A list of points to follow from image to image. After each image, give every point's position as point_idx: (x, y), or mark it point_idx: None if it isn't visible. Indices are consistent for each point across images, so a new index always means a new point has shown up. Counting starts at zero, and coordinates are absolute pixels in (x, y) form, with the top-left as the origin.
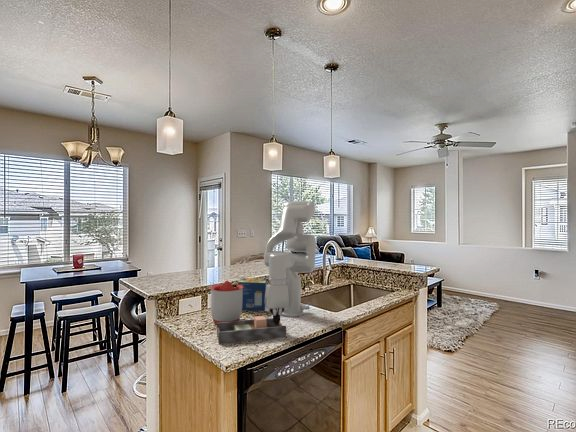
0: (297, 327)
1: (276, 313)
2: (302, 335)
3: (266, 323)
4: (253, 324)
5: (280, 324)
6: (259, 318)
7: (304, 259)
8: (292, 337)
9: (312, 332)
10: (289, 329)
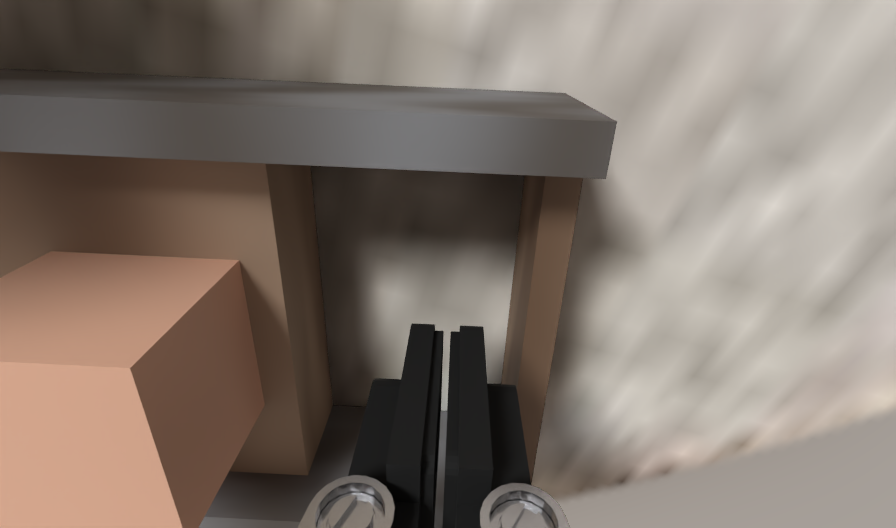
0: (854, 194)
1: (459, 482)
2: (716, 444)
3: (229, 469)
4: (27, 177)
5: (537, 315)
6: (24, 480)
7: None
8: (580, 457)
9: (892, 408)
10: (684, 236)
